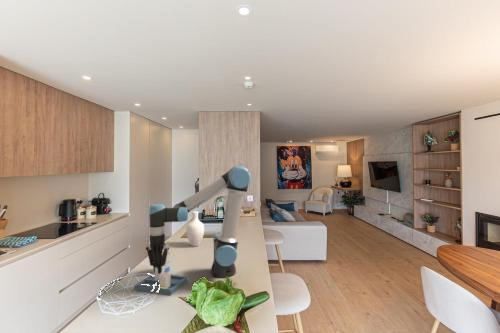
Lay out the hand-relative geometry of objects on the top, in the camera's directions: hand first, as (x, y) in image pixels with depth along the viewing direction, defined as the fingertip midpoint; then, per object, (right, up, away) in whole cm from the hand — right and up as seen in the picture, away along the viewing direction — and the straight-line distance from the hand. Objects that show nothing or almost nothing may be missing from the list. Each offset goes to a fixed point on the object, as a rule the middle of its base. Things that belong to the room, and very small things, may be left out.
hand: (157, 279), depth 129 cm
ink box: (-6, -6, +21) cm, 23 cm away
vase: (+4, -6, +73) cm, 73 cm away
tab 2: (+4, -4, -1) cm, 6 cm away
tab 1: (-3, -4, +9) cm, 10 cm away
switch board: (+1, -5, +4) cm, 6 cm away
